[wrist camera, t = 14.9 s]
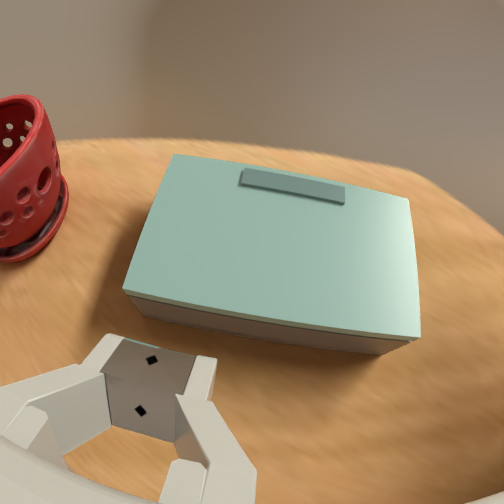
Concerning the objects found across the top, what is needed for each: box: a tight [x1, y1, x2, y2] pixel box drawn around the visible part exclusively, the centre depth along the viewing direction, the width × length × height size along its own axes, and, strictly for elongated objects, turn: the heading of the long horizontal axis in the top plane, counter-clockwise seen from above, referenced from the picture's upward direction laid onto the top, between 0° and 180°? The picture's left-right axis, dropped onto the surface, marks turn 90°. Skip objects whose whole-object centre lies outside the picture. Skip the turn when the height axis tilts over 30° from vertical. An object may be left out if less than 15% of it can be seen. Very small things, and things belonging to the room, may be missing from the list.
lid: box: [122, 154, 421, 341], centre depth 23 cm, size 20×12×1 cm, turn 81°
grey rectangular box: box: [127, 295, 411, 355], centre depth 26 cm, size 20×12×5 cm, turn 81°
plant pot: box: [0, 95, 69, 262], centre depth 23 cm, size 13×13×12 cm
